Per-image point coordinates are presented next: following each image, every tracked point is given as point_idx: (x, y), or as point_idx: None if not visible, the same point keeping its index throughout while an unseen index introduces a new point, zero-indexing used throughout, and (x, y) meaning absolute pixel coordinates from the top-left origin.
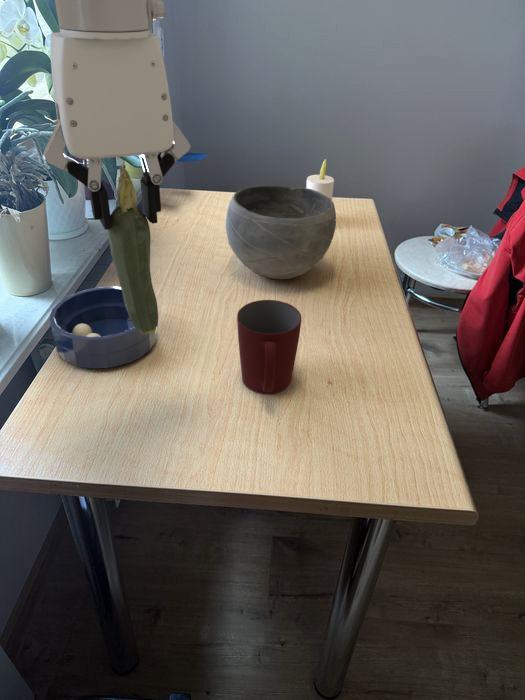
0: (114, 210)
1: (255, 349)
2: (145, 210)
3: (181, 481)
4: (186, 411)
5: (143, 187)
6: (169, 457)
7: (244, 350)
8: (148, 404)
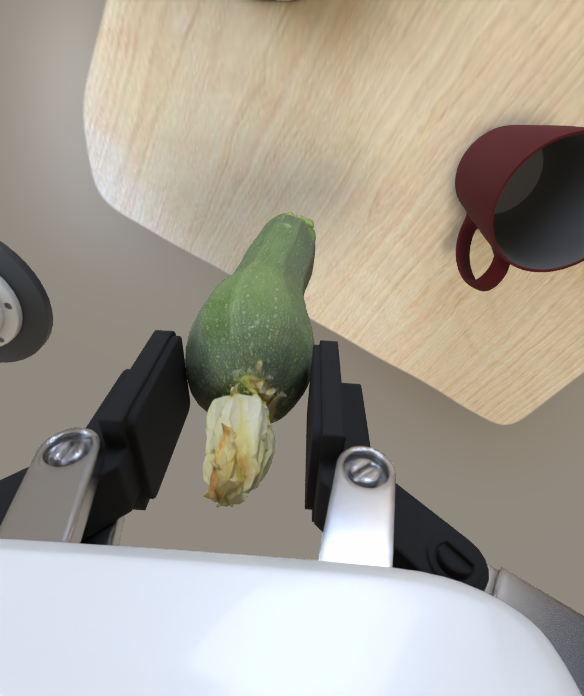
0: (199, 392)
1: (482, 233)
2: (310, 386)
3: None
4: (343, 190)
5: (309, 453)
6: None
7: (473, 203)
8: (296, 145)
